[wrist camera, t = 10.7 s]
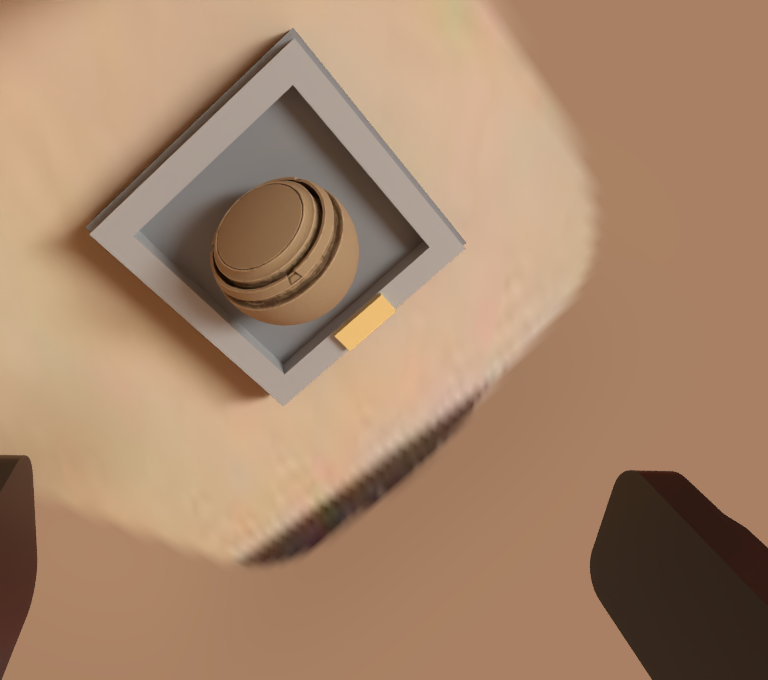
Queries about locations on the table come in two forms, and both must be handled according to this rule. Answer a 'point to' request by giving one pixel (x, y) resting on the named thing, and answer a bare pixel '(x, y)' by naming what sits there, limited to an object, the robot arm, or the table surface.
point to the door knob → (285, 252)
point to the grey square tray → (256, 166)
